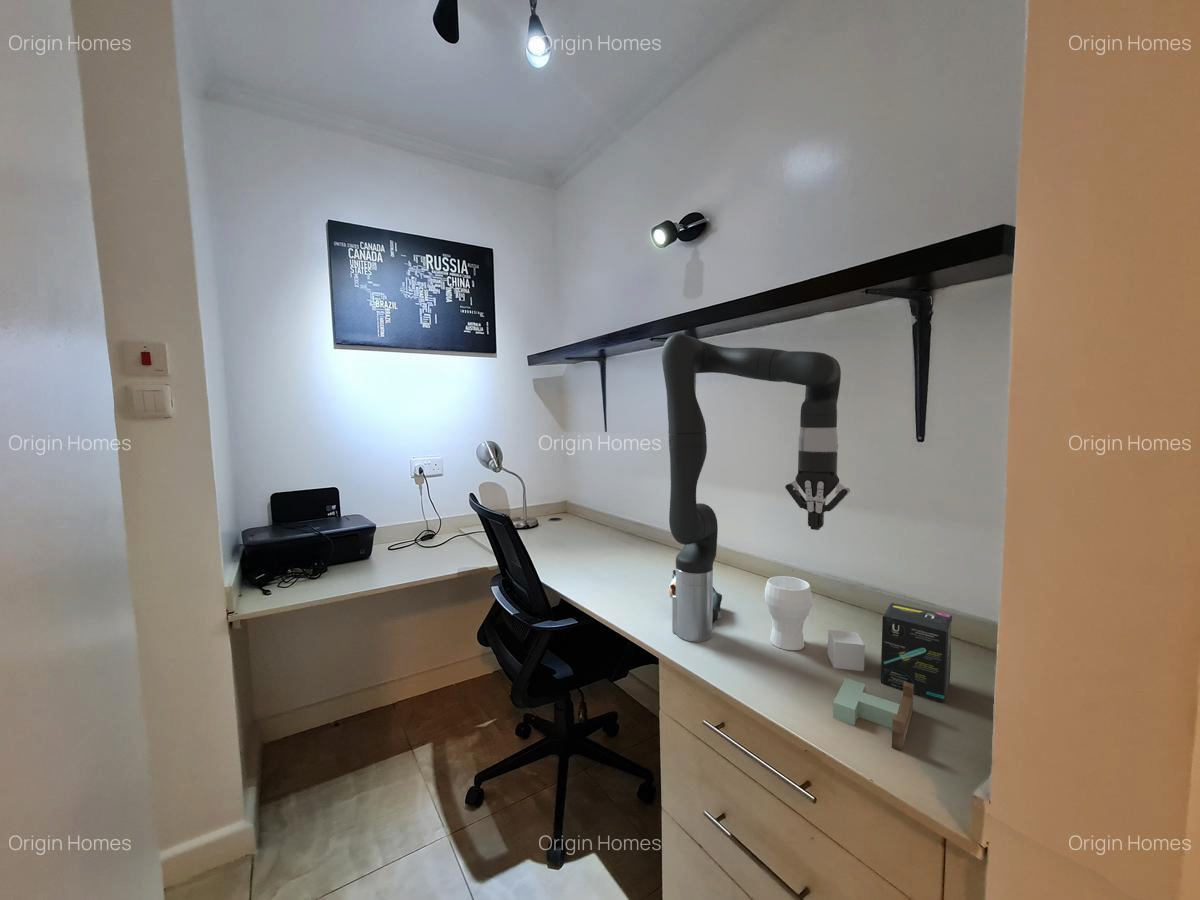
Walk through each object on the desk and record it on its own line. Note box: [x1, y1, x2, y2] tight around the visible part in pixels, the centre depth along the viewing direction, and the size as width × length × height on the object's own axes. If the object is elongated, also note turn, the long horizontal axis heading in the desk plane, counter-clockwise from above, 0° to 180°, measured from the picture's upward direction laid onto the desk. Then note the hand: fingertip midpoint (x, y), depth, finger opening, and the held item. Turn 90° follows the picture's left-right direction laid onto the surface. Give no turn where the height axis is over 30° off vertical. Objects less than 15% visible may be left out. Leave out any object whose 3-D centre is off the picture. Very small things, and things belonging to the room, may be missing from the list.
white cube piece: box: [827, 629, 866, 672], centre depth 103 cm, size 6×6×6 cm
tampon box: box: [880, 602, 953, 703], centre depth 95 cm, size 11×9×15 cm
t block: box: [832, 677, 900, 730], centre depth 85 cm, size 10×10×3 cm
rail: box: [891, 681, 914, 752], centre depth 82 cm, size 2×14×5 cm, turn 140°
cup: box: [764, 575, 813, 651], centre depth 112 cm, size 11×11×15 cm
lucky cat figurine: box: [668, 569, 723, 624], centre depth 129 cm, size 15×12×14 cm
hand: (815, 529), depth 99 cm, fingers closed
